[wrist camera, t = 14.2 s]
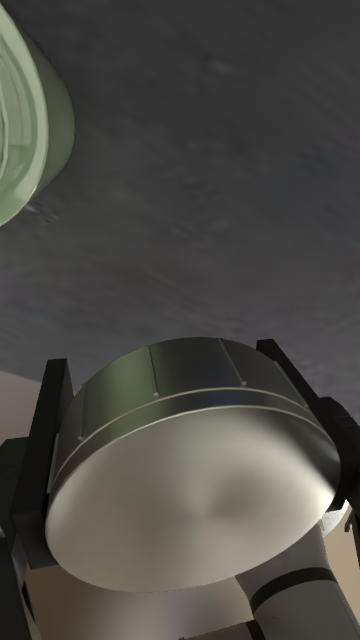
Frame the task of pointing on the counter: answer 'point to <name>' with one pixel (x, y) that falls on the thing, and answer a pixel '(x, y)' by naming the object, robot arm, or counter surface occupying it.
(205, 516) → the flask lid
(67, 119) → the flask
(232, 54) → the counter surface
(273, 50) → the counter surface
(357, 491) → the robot arm
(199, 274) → the counter surface
